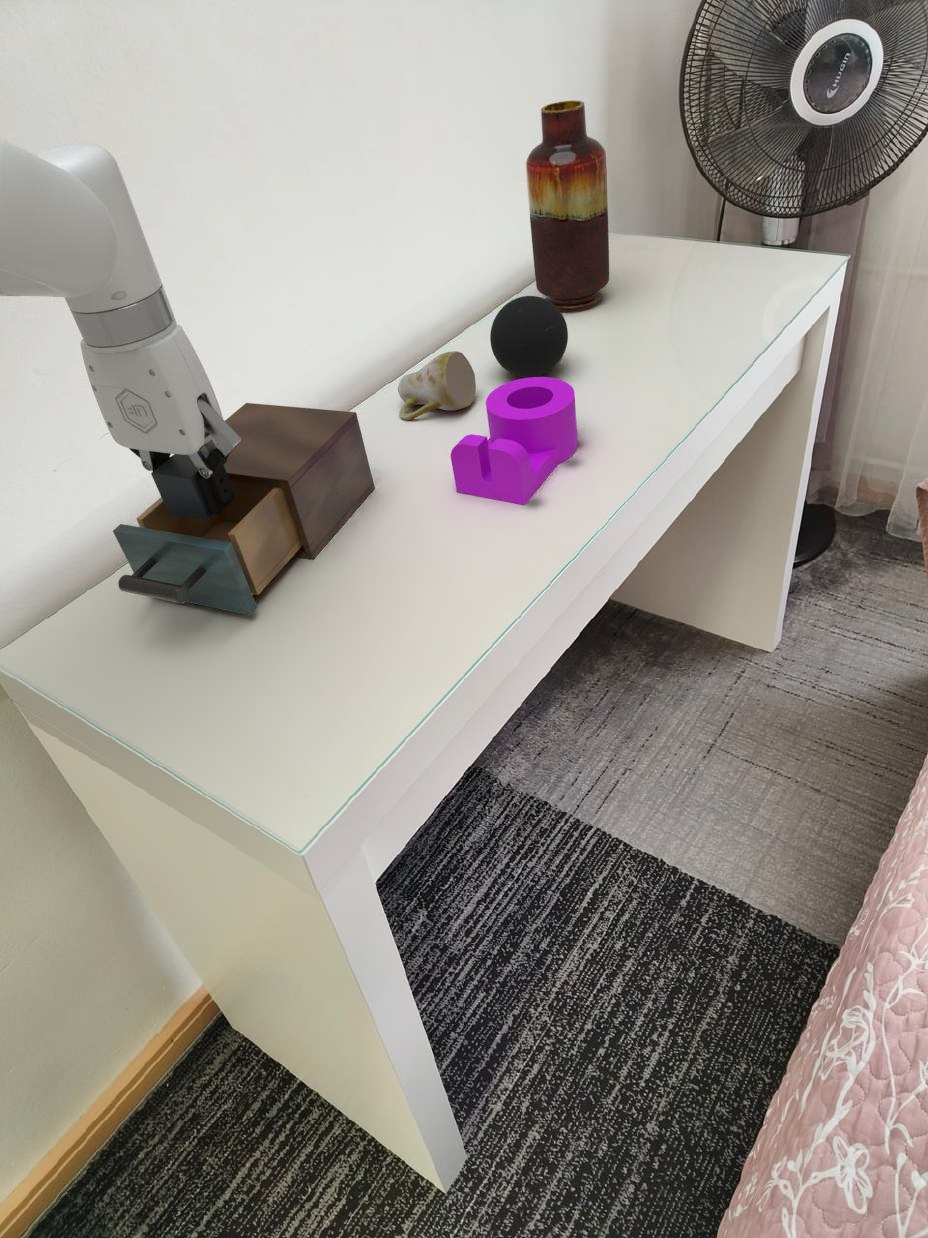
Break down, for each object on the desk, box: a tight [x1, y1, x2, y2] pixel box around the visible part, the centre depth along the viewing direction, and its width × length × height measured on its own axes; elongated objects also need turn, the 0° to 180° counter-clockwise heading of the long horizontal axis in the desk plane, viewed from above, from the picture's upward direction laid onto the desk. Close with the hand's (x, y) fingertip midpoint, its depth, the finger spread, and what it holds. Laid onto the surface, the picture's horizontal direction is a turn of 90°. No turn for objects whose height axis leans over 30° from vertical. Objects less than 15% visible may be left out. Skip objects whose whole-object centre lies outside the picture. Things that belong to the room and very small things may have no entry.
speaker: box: [489, 295, 569, 378], centre depth 109 cm, size 10×10×10 cm
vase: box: [525, 100, 610, 313], centre depth 121 cm, size 11×11×26 cm
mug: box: [397, 350, 477, 421], centre depth 107 cm, size 8×10×10 cm
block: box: [150, 451, 234, 520], centre depth 80 cm, size 5×5×5 cm
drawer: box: [112, 479, 303, 616], centre depth 83 cm, size 17×13×8 cm
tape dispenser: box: [450, 376, 579, 506], centre depth 94 cm, size 16×10×6 cm, turn 151°
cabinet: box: [200, 402, 376, 560], centre depth 92 cm, size 14×15×10 cm
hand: (200, 501), depth 81 cm, fingers closed on block, 4 cm apart
